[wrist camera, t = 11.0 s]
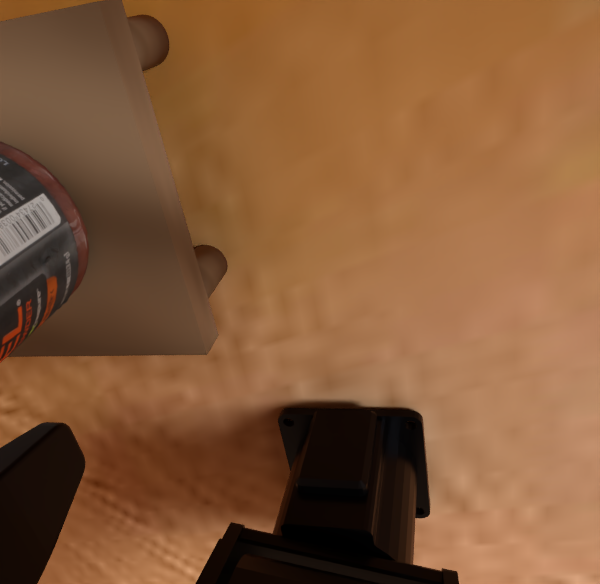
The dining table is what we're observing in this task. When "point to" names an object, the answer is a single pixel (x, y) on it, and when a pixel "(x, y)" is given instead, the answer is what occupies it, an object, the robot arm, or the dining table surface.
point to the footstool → (108, 182)
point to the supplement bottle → (35, 247)
